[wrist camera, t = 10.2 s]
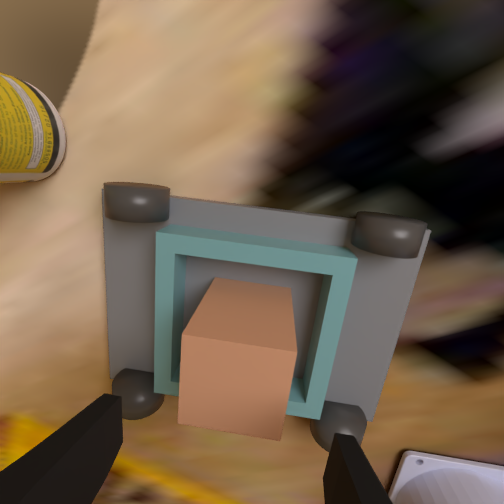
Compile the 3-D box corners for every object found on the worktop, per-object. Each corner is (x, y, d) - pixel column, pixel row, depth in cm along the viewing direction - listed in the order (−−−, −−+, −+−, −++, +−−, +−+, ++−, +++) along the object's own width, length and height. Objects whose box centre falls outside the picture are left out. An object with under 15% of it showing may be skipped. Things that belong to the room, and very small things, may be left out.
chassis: (426, 218, 15) (462, 231, 12) (366, 417, 20) (382, 463, 16) (109, 179, 16) (70, 181, 13) (116, 376, 20) (88, 412, 17)
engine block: (290, 287, 16) (297, 352, 11) (279, 352, 18) (280, 440, 12) (215, 276, 17) (181, 334, 11) (209, 341, 18) (177, 423, 12)
